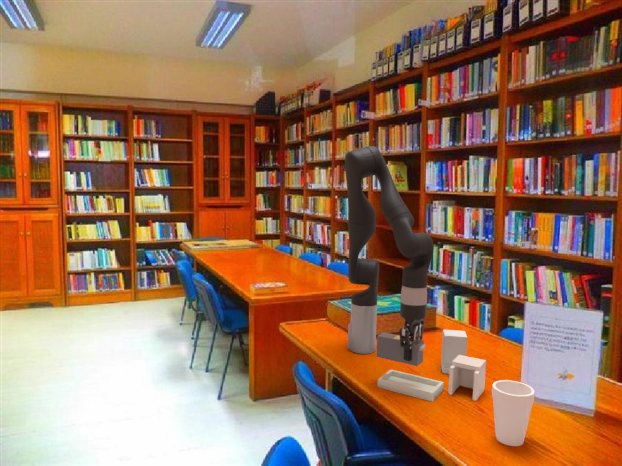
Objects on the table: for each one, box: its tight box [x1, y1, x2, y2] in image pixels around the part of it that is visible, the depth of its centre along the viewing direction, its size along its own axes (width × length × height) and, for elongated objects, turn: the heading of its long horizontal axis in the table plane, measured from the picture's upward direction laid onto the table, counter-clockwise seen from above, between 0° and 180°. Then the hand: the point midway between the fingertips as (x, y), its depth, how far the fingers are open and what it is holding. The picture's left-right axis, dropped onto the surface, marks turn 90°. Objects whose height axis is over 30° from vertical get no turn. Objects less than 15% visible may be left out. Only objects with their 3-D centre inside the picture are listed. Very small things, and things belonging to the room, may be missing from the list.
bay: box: [447, 355, 487, 402], centre depth 151 cm, size 8×9×9 cm
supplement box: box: [440, 329, 468, 375], centre depth 167 cm, size 7×7×13 cm
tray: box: [377, 369, 445, 403], centre depth 152 cm, size 17×10×2 cm, turn 58°
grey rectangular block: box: [375, 331, 426, 367], centre depth 153 cm, size 4×14×7 cm, turn 57°
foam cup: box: [491, 379, 536, 447], centre depth 124 cm, size 10×9×13 cm
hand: (410, 357), depth 151 cm, fingers closed on grey rectangular block, 4 cm apart
